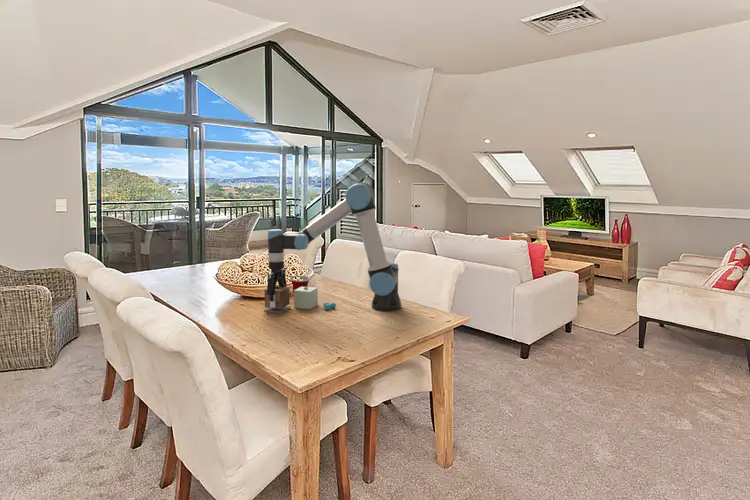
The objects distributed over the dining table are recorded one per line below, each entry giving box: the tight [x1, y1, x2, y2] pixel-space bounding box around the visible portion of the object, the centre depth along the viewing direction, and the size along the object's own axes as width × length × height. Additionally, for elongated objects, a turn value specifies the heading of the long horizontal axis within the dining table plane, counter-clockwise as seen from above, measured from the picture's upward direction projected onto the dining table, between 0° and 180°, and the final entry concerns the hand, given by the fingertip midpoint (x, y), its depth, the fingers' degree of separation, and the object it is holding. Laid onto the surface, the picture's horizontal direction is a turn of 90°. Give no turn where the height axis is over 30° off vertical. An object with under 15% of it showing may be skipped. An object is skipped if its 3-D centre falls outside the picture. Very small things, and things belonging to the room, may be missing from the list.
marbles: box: [323, 301, 337, 311], centre depth 242 cm, size 18×6×3 cm, turn 73°
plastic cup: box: [289, 275, 311, 294], centre depth 258 cm, size 11×11×12 cm
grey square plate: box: [263, 305, 292, 314], centre depth 239 cm, size 10×10×1 cm
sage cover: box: [293, 286, 319, 310], centre depth 245 cm, size 9×9×10 cm
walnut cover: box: [263, 285, 291, 309], centre depth 238 cm, size 9×9×10 cm
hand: (277, 304), depth 239 cm, fingers closed on walnut cover, 9 cm apart
